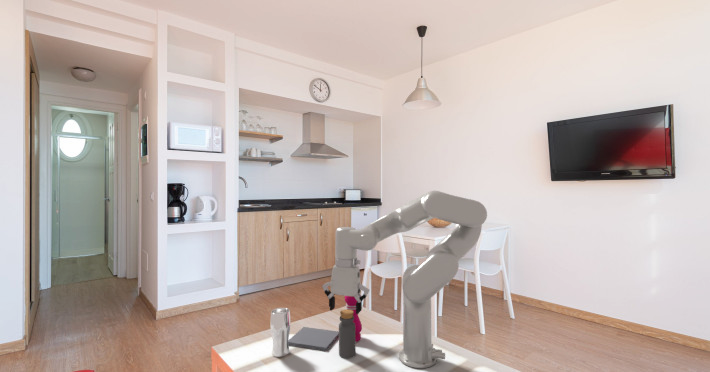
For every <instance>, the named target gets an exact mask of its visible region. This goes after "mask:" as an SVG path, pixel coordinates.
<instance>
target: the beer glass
mask: <svg viewBox="0 0 710 372" xmlns="http://www.w3.org/2000/svg"><path fill="white" fill-rule="evenodd" d="M290 312H291V311H290V309H289V308H287V307H276V308H273V309H272V310H271V311H270V323H269V324H270V333H271V337H272V351H271V355H272V356H273V357H275V358H282V357H286V356H288V355H289V354H290V351H291V350H290V347H289V346H290V345H288V340H289V339H290V338H289V336H290V332H291V313H290Z"/></svg>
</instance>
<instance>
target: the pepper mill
mask: <svg viewBox="0 0 710 372" xmlns="http://www.w3.org/2000/svg"><path fill="white" fill-rule="evenodd" d="M344 302H345V309H346V310H352V311H353V312H354V313H353V316H354V321H353V322H354V323H355V343H358V342H359V341H361V339H362V337H361V336H362V335H361V332H362V330H363V326H362V321H361V319H360V317H359V314H356V302H357V300H356V299H355V297H352V296H344Z"/></svg>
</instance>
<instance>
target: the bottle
mask: <svg viewBox="0 0 710 372" xmlns="http://www.w3.org/2000/svg"><path fill="white" fill-rule="evenodd" d="M353 313H354V312H353V311H352V310H347V309H342V310H340V311H339V314H340V316H339V321H340V322H339V324H338V331H339V337H338V356H339V357H341V358H343V359H352V358H353V357H355V356H356V347H357V346H356V345H357V344H356V342H355V323H354V322H353V321H354V316H353Z"/></svg>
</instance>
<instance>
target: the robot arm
mask: <svg viewBox="0 0 710 372" xmlns="http://www.w3.org/2000/svg"><path fill="white" fill-rule="evenodd" d="M487 218H488V212H487V208H486V207H485V205H484V204H483V203H481V202H480V201H477V200H474V199H470V198H466V197H462V196H461V197H460V196H458V195H453V194H449V193H446V192H442V191H440V190H431V191H428V192H426V193H425V194H422V195H421V196H418V197H416V198H415V199H413V200H411V201H409V202H408V203H405V204H404V205H402V206H400V207H398V208H396V209H394V210H393V211H391V212H390V213H388V214H386V215H384V216H382V217H380V218H379V219H377V220H375V221H372V222H371V223H369V224H367V225H365V226H363V227H362V228H360V229H359V228H358V229H356V227H351V226H342V227H337V228H336V230H335V243H334V244H335V249H334V251H335V252H334V253H335V254H334V257H335V258H334V265H333V266H332V271H331V276H330V277H331V278H330V281H327V282H326V283H324V284H322V286H321V287H322V289H323V291H324V294H325V296H326V297H327V299H328V307H329V311H333V310H334V309H335V308H336V297H335V295H336V296H343V297H345V296H352V297H355V299H356V300H357V302H356V314H358V315H359V314H360V313H361V312H362V309H363V307H362V306H363V305H362V303H363V301H364V300H365V299H366V298H367V296H368V295H369V293H370V288H368V287H366V286H365V285H363V284H362V282H361V272H360V267H359V266H358V265H361V260H359V259H358V256H357V250H361V251H368V252H369V251H371V250H373V249H375V247H376V246H377V245H378V244H379V243H380V242H382V241H384V240H385V239H387V238H390V237H392V236H393V235H397V234H400V233H406V232H409V231H411V230H413V229H415V228H417V227H419V226H421V225H423V224H425V223H426V222H429V221H430V220H433V219H437V220H440V221H444V222H448V223H451V224H455V226H454V227H453V229H452V230H451V231H450V232H448V234H447V235H446V236H445V237H443V238H442V239H441V240H440V241H439V242H438V243H437V244H436V245H434V246H433V247H431V248H430V249H429V251H428V252H427V254H426V260H424V262H423V263H421V264H420V265H419V264H413V265H411V266H409V267H407V268H406V269H405V270H404V273H403V275H402V278H401V279H402V281H401V282H402V283H401V284H402V286H401V287H402V321H403V322H402V334H403V335H402V337H403V338H402V345H403V348H402V349H401V350H400V351H399V353H398V360H399V361H400V362H401V363H402V364H403V365H405V366H407V367H411V368H415V369H425V368H430V367H433V366H434V365H435V364H436V363H437V359H439V360H446V352H443V349H437V348H435V347H434V344H433V343H432V298H433V297H434V296H435V295H436V294H437V293H439V292H440V291H441V290H443V288H444V287H446V286H447V285H448V284H449V283H450V282H451V281H452V280H453V279H454V278H455V277H456V275H457V274H458V271H459V264H460V263H459V261H461V259H463V257H465V255H467V253H469V251H471V250H472V248H474V246H475V245H476V244H477V243H478V241H479V238H480V236H481V232H482V227H483V226H482V225H483V224H484V223H485V222H486V220H487ZM328 287H330V290H329V288H328ZM361 291H362V292H363V294H361Z"/></svg>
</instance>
